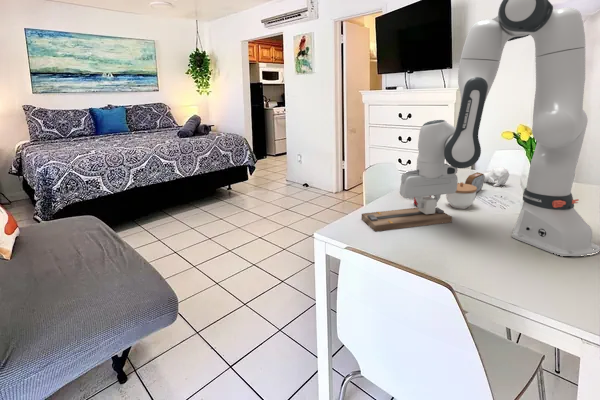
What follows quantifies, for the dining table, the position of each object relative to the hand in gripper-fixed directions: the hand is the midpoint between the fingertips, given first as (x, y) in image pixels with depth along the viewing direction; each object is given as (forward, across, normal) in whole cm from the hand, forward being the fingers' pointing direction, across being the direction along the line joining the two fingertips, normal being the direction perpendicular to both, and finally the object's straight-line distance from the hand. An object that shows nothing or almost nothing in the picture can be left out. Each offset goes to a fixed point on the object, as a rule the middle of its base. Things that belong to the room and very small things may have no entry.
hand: (426, 207), depth 127 cm
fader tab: (+2, 0, 0) cm, 2 cm away
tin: (+4, +35, +21) cm, 41 cm away
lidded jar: (+4, +19, +8) cm, 21 cm away
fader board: (+4, -8, 0) cm, 9 cm away
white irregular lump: (+4, +52, +30) cm, 60 cm away
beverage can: (+4, +6, +13) cm, 15 cm away
